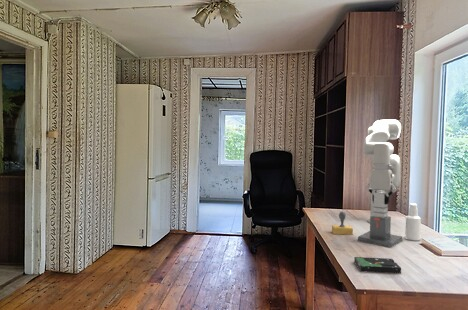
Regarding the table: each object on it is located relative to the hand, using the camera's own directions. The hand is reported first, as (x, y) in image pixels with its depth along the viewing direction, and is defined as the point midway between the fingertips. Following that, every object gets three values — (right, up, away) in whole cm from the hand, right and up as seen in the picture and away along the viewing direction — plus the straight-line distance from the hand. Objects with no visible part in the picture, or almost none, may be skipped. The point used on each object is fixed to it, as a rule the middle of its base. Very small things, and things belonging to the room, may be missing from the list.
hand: (380, 203), depth 164 cm
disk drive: (-18, -21, -36) cm, 45 cm away
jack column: (0, -17, 0) cm, 17 cm away
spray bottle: (+18, -19, +4) cm, 27 cm away
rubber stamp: (-15, -19, +14) cm, 28 cm away
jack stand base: (0, -19, +1) cm, 19 cm away
